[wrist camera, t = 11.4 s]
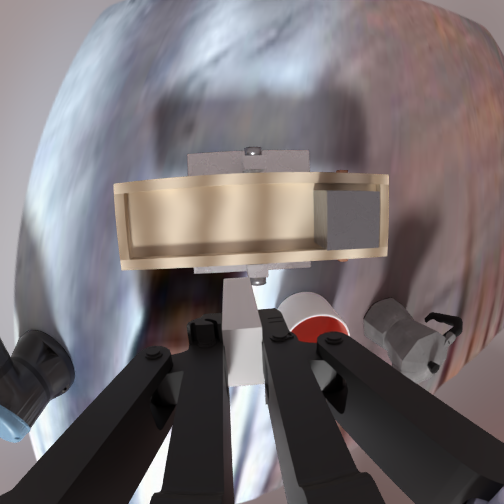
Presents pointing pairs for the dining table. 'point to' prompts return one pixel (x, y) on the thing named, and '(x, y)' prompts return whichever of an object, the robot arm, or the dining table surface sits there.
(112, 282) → the dining table surface
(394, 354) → the coffeepot
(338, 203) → the block
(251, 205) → the beam
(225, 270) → the stand
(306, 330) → the cup
